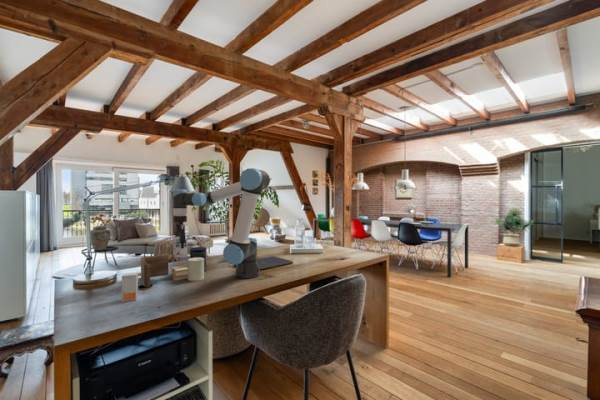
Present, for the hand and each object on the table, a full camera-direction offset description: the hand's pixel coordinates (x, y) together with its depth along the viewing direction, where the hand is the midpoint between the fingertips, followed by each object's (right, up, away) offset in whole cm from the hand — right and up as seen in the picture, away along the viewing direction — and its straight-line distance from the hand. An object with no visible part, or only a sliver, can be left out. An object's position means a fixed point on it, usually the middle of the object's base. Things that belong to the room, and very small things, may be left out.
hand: (180, 252), depth 168 cm
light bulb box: (0, -2, 0) cm, 2 cm away
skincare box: (-8, -16, -37) cm, 41 cm away
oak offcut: (0, -16, 0) cm, 16 cm away
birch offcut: (0, -13, 0) cm, 13 cm away
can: (+11, -15, -3) cm, 19 cm away
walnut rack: (-10, -15, -6) cm, 19 cm away
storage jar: (+7, -15, +12) cm, 20 cm away
